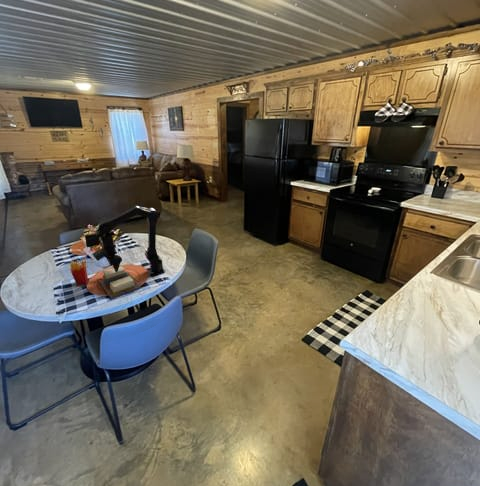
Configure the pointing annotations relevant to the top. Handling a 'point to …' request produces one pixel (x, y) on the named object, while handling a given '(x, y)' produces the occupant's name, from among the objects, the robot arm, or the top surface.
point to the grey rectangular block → (114, 278)
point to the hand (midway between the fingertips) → (113, 268)
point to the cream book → (112, 272)
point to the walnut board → (122, 292)
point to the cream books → (121, 284)
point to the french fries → (79, 272)
